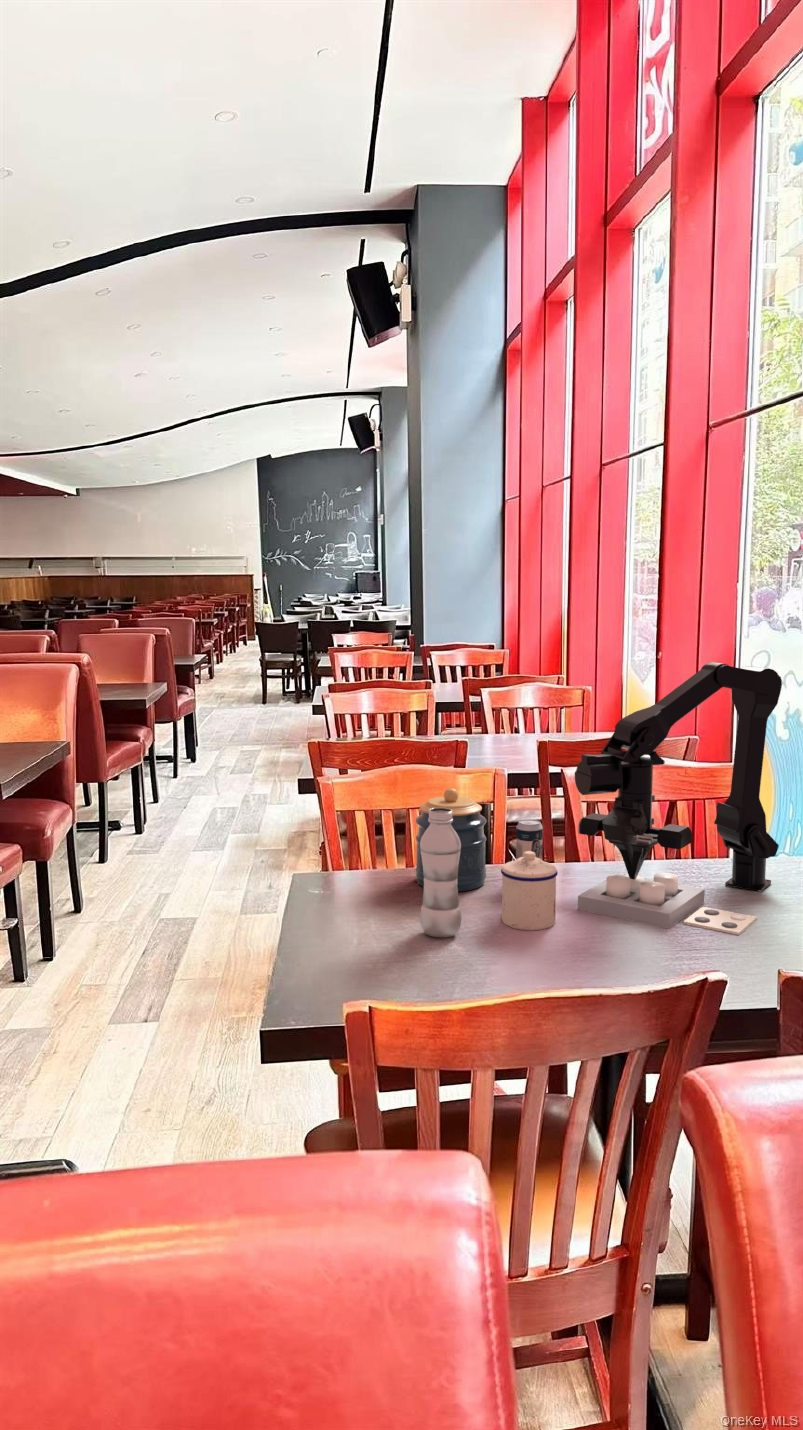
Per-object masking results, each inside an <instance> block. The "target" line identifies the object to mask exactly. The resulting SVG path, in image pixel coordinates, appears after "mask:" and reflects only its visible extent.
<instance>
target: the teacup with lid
mask: <svg viewBox="0 0 803 1430" xmlns="http://www.w3.org/2000/svg"><path fill="white" fill-rule="evenodd" d="M500 873H501V875H502V881H501V882H502V887H501V888H502V893H501V901H502V902H501V920H502V922H503V923H504V925H506V926H508V927H510V928H513V929H515V930H522V931H540V930H541V931H542V930H544V929H545V930H547V929H549V928H551V927H552V926H553V925H554V924H556V910H557V909H556V906H557V905H556V904H557V903H556V899H557V898H556V895H557V876H558V874H559V873H558V870H557V867H556V866H555V865H554V864H552V863H550V862H546V861H544V860H543V859H542V860H541V859H539V858H536V854H535V853H534V852H532V851H526V852H524V853H523V857H521V858H518V859H516V858H515V860H511V861H508V862H506V863H504V864H503V865H502V867H501V869H500Z"/></svg>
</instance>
